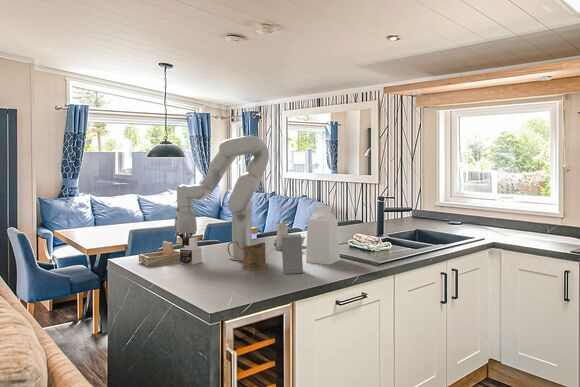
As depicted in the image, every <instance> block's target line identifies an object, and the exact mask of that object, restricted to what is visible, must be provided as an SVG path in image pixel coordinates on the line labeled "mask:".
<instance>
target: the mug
mask: <svg viewBox="0 0 580 387" xmlns="http://www.w3.org/2000/svg"><path fill="white" fill-rule="evenodd" d="M235 242H237V246H238V248H240V247H239V245H238V241H234V242H232V241H231V242H228V244H227V252H228V255H229V257H230V256H231V255H232V254H231V252H230V245H231V244H232V243H235ZM243 247H244V248H240V249H244V260H239V259H238V258H237V257H234V256H231V257H234V258H237V259H238V260H237V261H240V262H241V263H243V264H242V265H241V269H243V270H249V271H257V270H264V269H267V268H268V267H269V265H268V264H267V263H266V261H267V259H266V242H264V241H263V242H260V243H256V244H252V245H251V246H243Z"/></svg>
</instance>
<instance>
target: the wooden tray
mask: <svg viewBox="0 0 580 387" xmlns="http://www.w3.org/2000/svg"><path fill="white" fill-rule="evenodd" d="M139 262H141V263H143V264H145V265H144V266H146V265H147V266H146V267H148V266H150V267H156V266H155V265H157V266H163V265H170V264H176V263H180V250H176V249H173V254H171V255H163V250H162V251H156V252H148V253H147V252H146V253H140V254H138V263H139ZM141 263H140V264H141ZM143 264H142V265H143Z"/></svg>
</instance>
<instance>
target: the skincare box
mask: <svg viewBox="0 0 580 387" xmlns="http://www.w3.org/2000/svg"><path fill="white" fill-rule="evenodd" d="M302 237H303V236H302V234H301V233H292V234H289V233H288V235H282V250H281V253H282V254H281V256H282V272H283V275H293V274H303V273H304V266H303V248H302V247H303V244H302V240H301V238H302Z"/></svg>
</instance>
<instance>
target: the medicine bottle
mask: <svg viewBox="0 0 580 387" xmlns="http://www.w3.org/2000/svg"><path fill="white" fill-rule="evenodd" d="M179 251H180V262H179V263H180V265H187V266H188V265H189V266H194V265H196V264H201V263H202V256H203V255H202V247H200V246H198V239H197V237H192V236H191V237H188V238H185V239H184V247H182V248H179Z"/></svg>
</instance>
